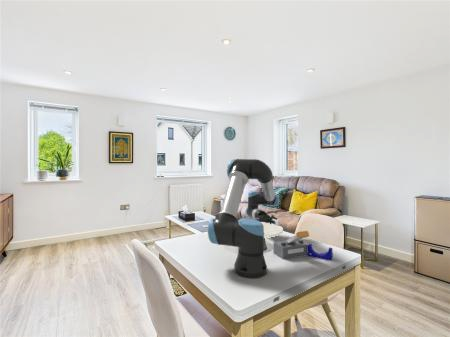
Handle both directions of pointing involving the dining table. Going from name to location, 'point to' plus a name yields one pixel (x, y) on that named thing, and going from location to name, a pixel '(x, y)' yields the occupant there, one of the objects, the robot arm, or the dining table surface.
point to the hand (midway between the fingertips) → (278, 223)
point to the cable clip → (325, 256)
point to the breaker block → (290, 249)
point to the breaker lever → (298, 237)
